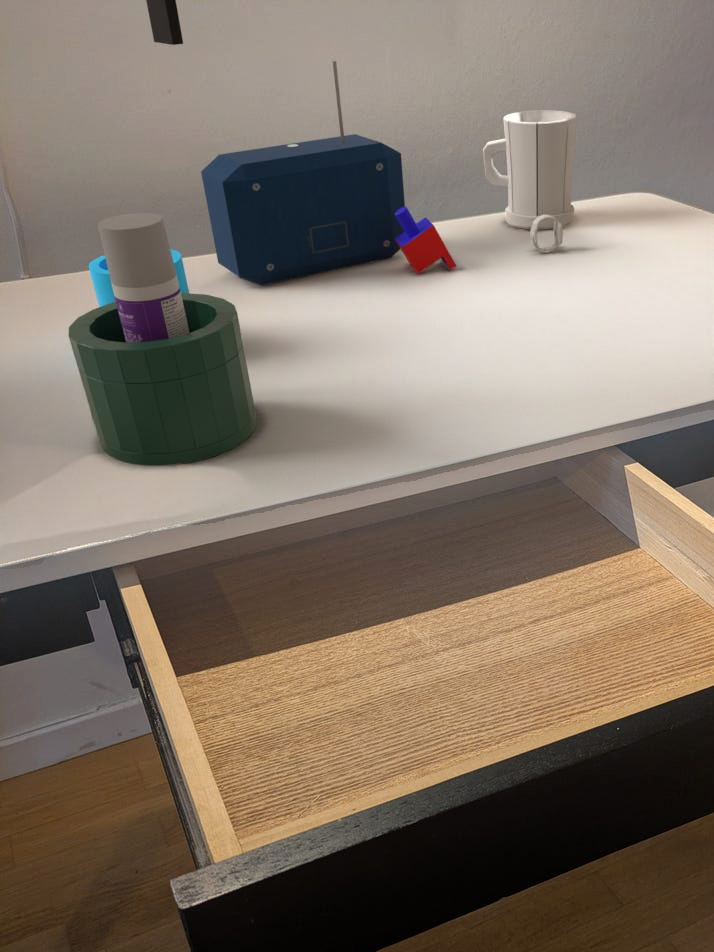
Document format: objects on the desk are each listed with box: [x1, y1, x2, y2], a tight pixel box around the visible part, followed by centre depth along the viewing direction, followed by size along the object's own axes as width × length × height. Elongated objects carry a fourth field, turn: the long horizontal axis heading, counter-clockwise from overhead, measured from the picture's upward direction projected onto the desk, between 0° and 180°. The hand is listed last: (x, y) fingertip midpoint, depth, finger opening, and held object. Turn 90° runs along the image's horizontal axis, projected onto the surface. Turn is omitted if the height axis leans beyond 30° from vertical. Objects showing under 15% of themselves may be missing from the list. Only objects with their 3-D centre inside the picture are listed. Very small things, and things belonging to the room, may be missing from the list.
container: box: [97, 212, 189, 343], centre depth 73 cm, size 5×5×15 cm
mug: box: [88, 248, 190, 308], centre depth 92 cm, size 12×8×8 cm
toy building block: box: [395, 206, 457, 275], centre depth 109 cm, size 4×4×8 cm
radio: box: [200, 60, 406, 286], centre depth 107 cm, size 21×9×20 cm, turn 123°
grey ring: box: [529, 215, 564, 254], centre depth 113 cm, size 4×2×4 cm, turn 103°
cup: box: [482, 109, 577, 231], centre depth 121 cm, size 10×9×12 cm
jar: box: [68, 292, 258, 467], centre depth 76 cm, size 12×12×9 cm
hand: (72, 54), depth 63 cm, fingers open, 13 cm apart
